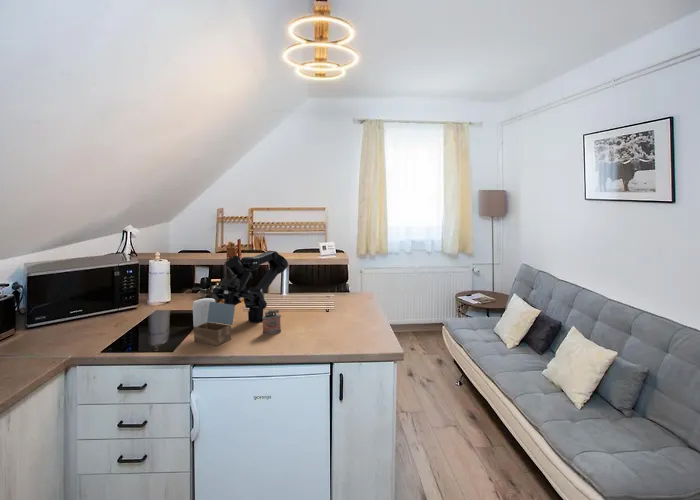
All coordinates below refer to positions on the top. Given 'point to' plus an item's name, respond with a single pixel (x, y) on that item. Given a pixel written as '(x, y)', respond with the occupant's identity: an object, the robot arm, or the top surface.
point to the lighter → (271, 322)
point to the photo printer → (201, 311)
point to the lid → (221, 313)
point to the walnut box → (212, 333)
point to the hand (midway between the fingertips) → (224, 311)
